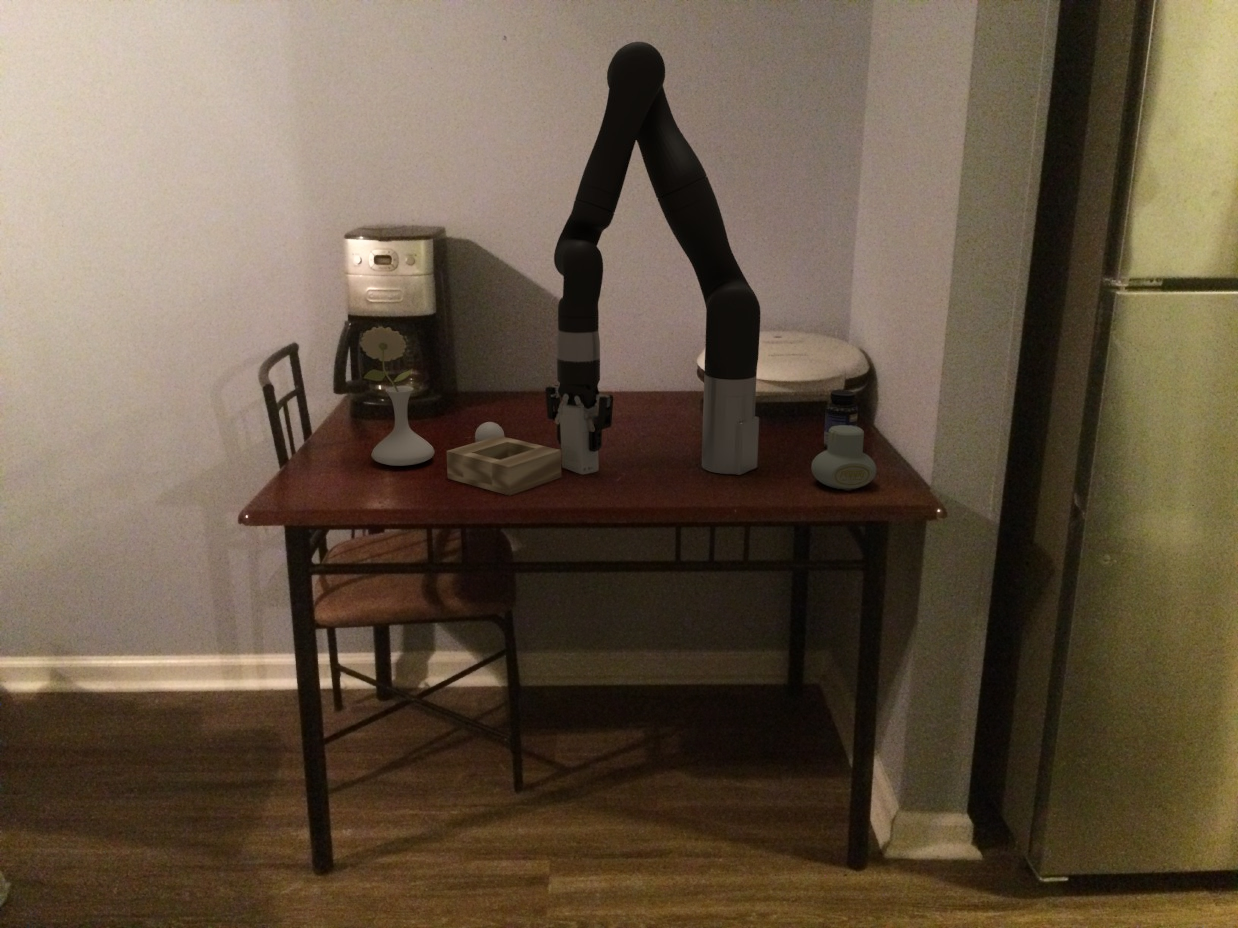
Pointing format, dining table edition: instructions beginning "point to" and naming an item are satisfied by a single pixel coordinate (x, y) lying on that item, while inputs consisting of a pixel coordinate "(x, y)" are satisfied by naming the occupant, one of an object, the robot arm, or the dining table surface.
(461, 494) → the dining table surface
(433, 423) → the dining table surface
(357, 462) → the dining table surface
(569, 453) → the skincare box
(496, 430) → the white egg
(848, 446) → the air freshener
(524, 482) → the caddy
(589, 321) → the robot arm
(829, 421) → the pill bottle
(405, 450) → the flower in vase
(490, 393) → the dining table surface
